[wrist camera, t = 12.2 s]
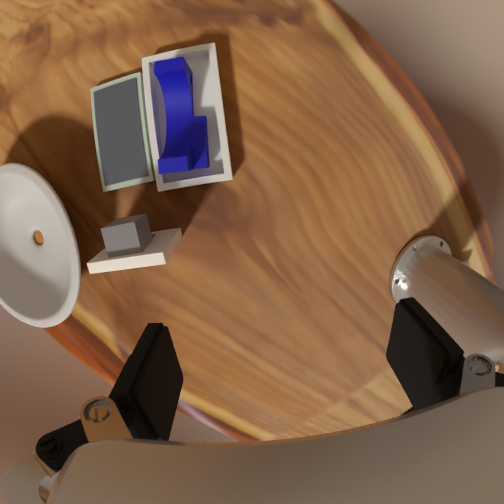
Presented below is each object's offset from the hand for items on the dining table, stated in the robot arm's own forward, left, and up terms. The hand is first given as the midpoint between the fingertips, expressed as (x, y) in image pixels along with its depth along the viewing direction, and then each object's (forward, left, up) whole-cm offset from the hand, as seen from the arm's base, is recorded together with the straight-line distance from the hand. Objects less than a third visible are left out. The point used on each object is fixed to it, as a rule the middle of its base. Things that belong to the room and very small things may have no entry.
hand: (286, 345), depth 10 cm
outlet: (+14, 0, -25) cm, 28 cm away
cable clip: (+6, -12, -25) cm, 28 cm away
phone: (+15, -13, -25) cm, 32 cm away
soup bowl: (+33, -2, -25) cm, 41 cm away
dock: (+6, -13, -25) cm, 29 cm away
